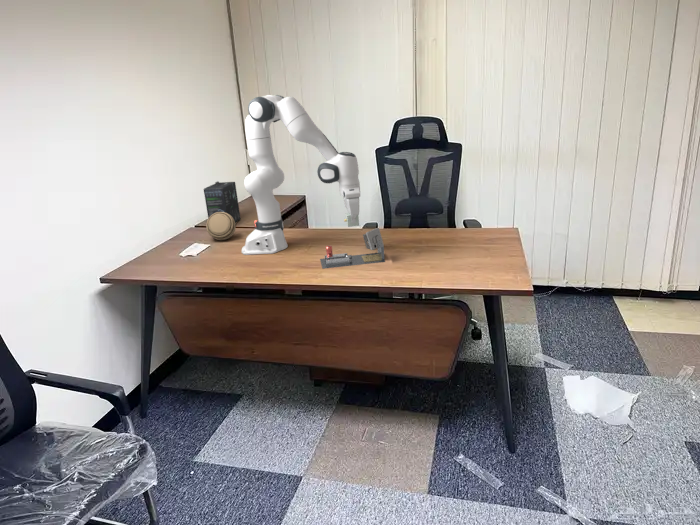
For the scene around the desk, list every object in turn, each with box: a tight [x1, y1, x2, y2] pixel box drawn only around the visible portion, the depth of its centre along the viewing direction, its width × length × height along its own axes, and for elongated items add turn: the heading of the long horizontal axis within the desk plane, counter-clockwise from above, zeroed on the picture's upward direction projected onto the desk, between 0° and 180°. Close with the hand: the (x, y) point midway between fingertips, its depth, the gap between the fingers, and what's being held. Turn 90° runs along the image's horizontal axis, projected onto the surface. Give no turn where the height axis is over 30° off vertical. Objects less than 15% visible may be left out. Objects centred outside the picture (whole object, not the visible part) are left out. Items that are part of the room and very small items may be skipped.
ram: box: [325, 245, 352, 260], centre depth 208 cm, size 11×3×7 cm, turn 98°
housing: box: [343, 212, 360, 228], centre depth 213 cm, size 6×5×5 cm
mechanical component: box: [205, 212, 237, 241], centre depth 256 cm, size 15×15×15 cm
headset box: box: [203, 181, 241, 224], centre depth 285 cm, size 22×12×26 cm, turn 174°
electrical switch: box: [362, 227, 384, 251], centre depth 225 cm, size 9×5×9 cm, turn 141°
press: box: [319, 241, 386, 270], centre depth 209 cm, size 27×13×7 cm, turn 98°
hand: (352, 221), depth 213 cm, fingers closed on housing, 5 cm apart
